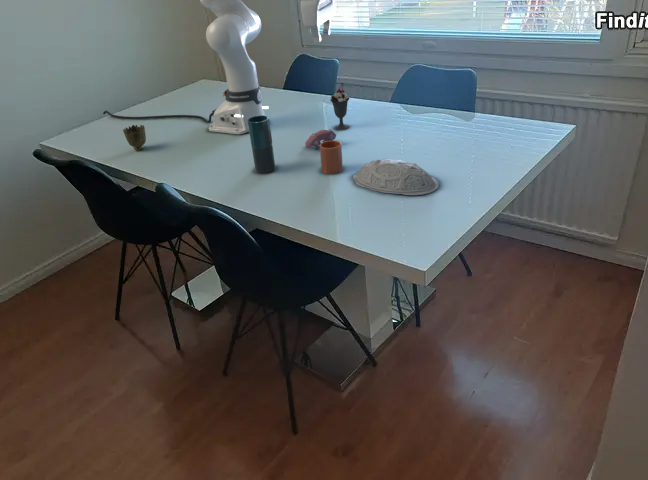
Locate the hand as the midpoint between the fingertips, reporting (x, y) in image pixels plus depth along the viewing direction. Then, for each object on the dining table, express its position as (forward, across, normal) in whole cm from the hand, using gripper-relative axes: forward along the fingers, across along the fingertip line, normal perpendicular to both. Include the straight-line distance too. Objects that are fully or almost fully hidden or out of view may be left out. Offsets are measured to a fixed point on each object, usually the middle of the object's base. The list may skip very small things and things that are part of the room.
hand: (322, 39), depth 161 cm
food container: (+34, +23, +25) cm, 48 cm away
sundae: (+34, -19, -2) cm, 39 cm away
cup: (+34, +17, +5) cm, 38 cm away
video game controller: (+34, -1, -4) cm, 34 cm away
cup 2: (+32, +6, -70) cm, 77 cm away
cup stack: (+33, +19, -16) cm, 42 cm away
